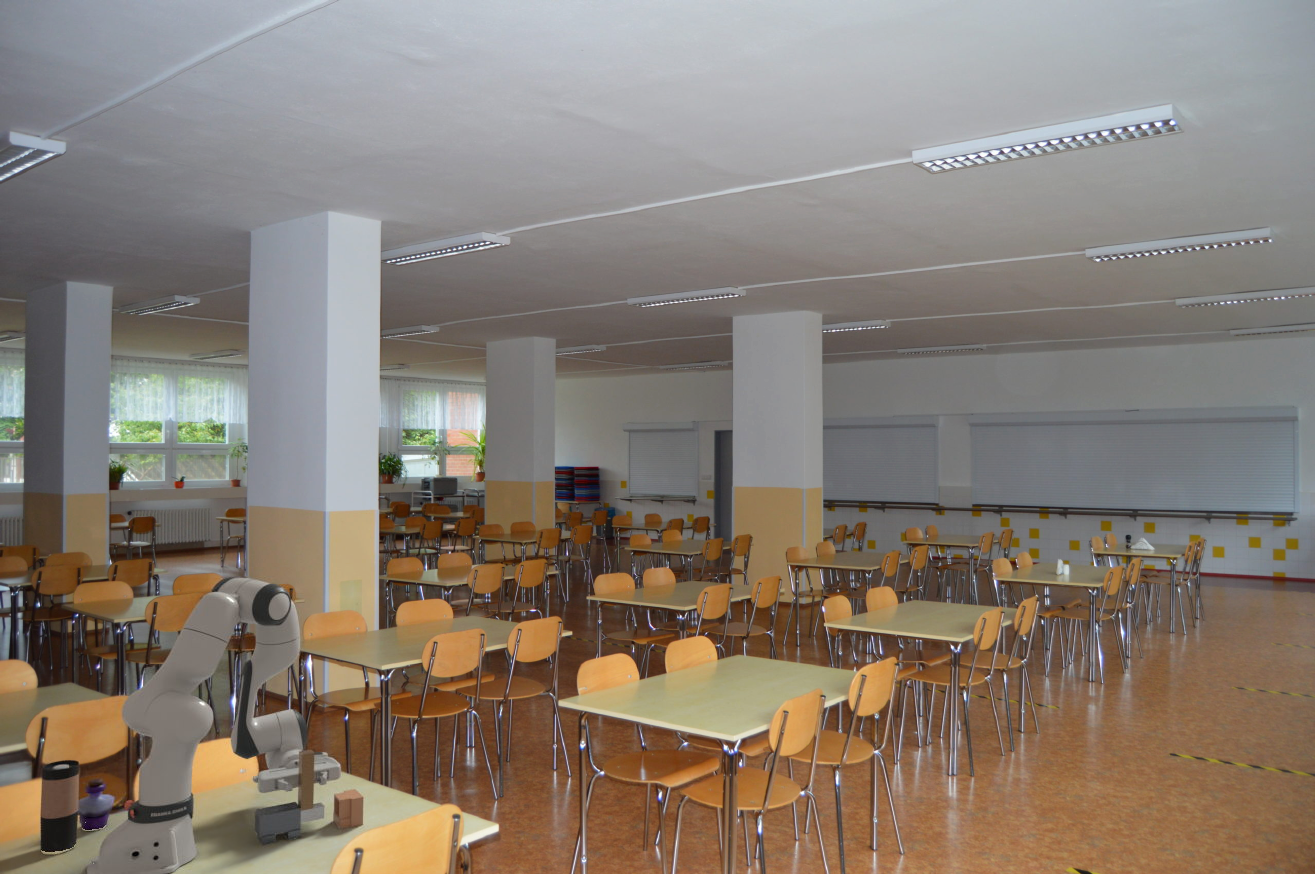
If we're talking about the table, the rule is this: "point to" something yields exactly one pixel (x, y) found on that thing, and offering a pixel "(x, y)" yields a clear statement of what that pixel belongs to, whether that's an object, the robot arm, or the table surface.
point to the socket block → (348, 809)
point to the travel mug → (59, 805)
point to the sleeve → (278, 822)
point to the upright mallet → (308, 788)
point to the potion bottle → (95, 806)
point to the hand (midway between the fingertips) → (306, 784)
